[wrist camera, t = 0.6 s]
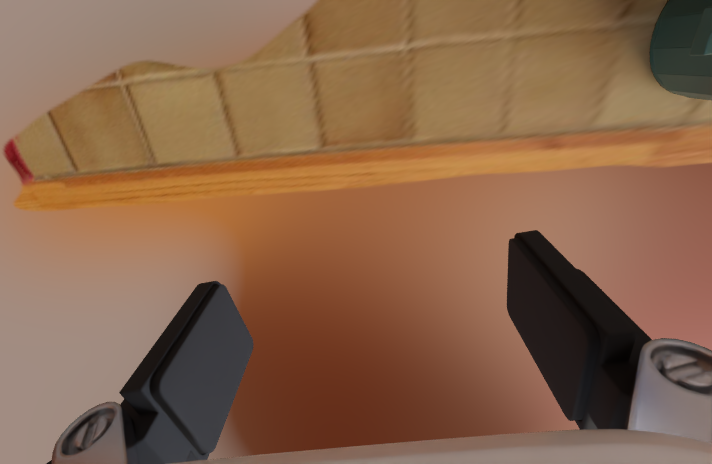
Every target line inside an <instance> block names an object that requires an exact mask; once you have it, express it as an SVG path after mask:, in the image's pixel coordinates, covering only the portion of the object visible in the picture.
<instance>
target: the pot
mask: <svg viewBox="0 0 712 464" xmlns="http://www.w3.org/2000/svg"><path fill="white" fill-rule="evenodd" d="M650 64H651V69H652V72H653V74H654V77H655V78H656V80H657V82H658V83H659V84H660V85H661V86H662V87H663V88H665V89H666V90H668V91H670V92H672V93H674V94H678V95H683V96H685V97H689V98H697V99H705V100H712V0H669V1H668V2H667V4H666V5H665V7H664V9H663V11H662V12H661V14H660V17H659V19H658V21H657V23H656V26H655V29H654V32H653V35H652V40H651V45H650Z"/></svg>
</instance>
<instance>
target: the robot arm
mask: <svg viewBox="0 0 712 464" xmlns="http://www.w3.org/2000/svg"><path fill="white" fill-rule="evenodd" d="M507 284H508V285H507V286H508V287H507V310H508V313H509V316H510V318H511V320H512V321H513V323H514V325H515V327H516V329H517V330H518V332H519V334H520V335H521V337H522V339H523V341H524V343H525V345H526V346H527V348H528V350H529V352H530V353H531V355H532V357H533V359H534V361H535V363H536V364H537V366H538V368H539V370H540V371H541V373H542V375H543V377H544V379H545V381H546V382H547V384H548V386H549V388H550V389H551V391H552V393H553V395H554V397H555V398H556V400H557V402H558V404H559V405H560V407H561V409H562V411H563V413H564V414H565V416H566V417H567V419H568V420H570V421H573V420H575V421H576V423H577V425H578V427H579V428H580V430H562V431H548V432H531V433H517V434H501V435H488V436H476V437H463V438H451V439H439V440H426V441H414V442H402V443H390V444H379V445H367V446H355V447H344V448H332V449H320V450H310V451H297V452H286V453H275V454H264V455H253V456H242V457H231V458H221V459H210V460H207V458H208V456H209V453H211V452H212V451H213V450H214V449H215V447H216V445H217V442H218V440H219V437H220V434H221V431H222V429H223V426H224V424H225V421H226V419H227V416H228V413H229V411H230V408H231V405H232V403H233V400H234V398H235V395H236V392H237V390H238V387H239V384H240V382H241V379H242V377H243V374H244V371H245V369H246V366H247V363H248V361H249V358H250V355H251V353H252V350H253V339H252V337H251V335H250V333H249V331H248V329H247V327H246V325H245V324H244V322H243V320H242V318H241V316H240V314H239V312H238V310H237V308H236V306H235V304H234V302H233V300H232V298H231V296H230V294H229V292H228V290H227V288H226V287H225V286H224V285H222V284H220V283H219V282H217V281H213V282H207V283H201V284H199V285H197V287H196V288H195V289H194V291H193V292H192V293H191V295H190V296H189V298H188V299H187V300H186V302H185V303H184V305H183V306H182V307H181V309H180V310H179V311H178V313H177V314H176V315H175V317H174V318H173V320H172V321H171V322H170V324H169V325H168V326H167V328H166V329H165V331H164V332H163V333H162V335H161V336H160V337H159V339H158V340H157V342H156V343H155V344H154V346H153V347H152V348H151V350H150V351H149V353H148V354H147V355H146V357H145V358H144V359H143V361H142V362H141V364H140V365H139V366H138V368H137V369H136V370H135V372H134V373H133V375H132V376H131V377H130V379H129V380H128V382H127V383H126V384H125V386H124V387H123V388H122V390H121V391H120V394H121V395H122V396H123V397H124V400H123V402H122V403H121V405H120V404H118V403H116V402H106V403H103V404H99V405H97V406H95V407H93V408H91V409H89V410H88V411H86V412H85V413H84V414H82V415H81V416H79V417H78V418H77V419H76V420H75V421H74V422H73V423H71V424H70V425H69V426H68V428H67V429H66V430H65V431H64V432H63V433H62V434H61V436H60V438H59V439H58V441H57V442H56V444H55V448H54V450H53V455H52V460H51V461H50V462H48V463H47V464H712V351H711V350H709V349H707V348H705V347H702V346H700V345H697V344H694V343H691V342H687V341H683V340H678V339H667V338H661V339H655V340H652V339H651V338H650V337H649V336H647V334H645V332H644V331H643V330H641V329H640V328H639V327H638V326H637V325H636V324H635V323H634V322H633V321H632V320H631V319H630V318H629V317H628V316H627V315H626V314H625V313H624V312H623V311H622V310H621V309H620V308H619V307H618V306H617V305H616V304H615V303H614V302H613V301H612V300H611V299H610V298H609V297H608V296H607V295H606V294H605V293H604V292H603V291H602V290H601V289H600V288H599V287H598V286H597V285H596V284H595V283H594V282H593V281H592V280H591V279H590V278H589V277H588V276H587V275H586V274H585V273H584V272H582V271H581V270H579V269H576V268H575V267H574V266H573V265H572V264H571V263H570V262H569V261H567V259H566V258H565V257H564V256H563V255H562V254H561V253H560V252H559V251H558V250H557V249H556V248H554V246H553V245H552V244H551V243H550V242H549V241H548V240H547V239H546V238H545V237H544V236H543V235H542V234H541V233H540V232H538V231H537V230H535V231H528V232H522V233H517V234H516V235H515V238H514V239H510V240H509V253H508V283H507Z"/></svg>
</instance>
